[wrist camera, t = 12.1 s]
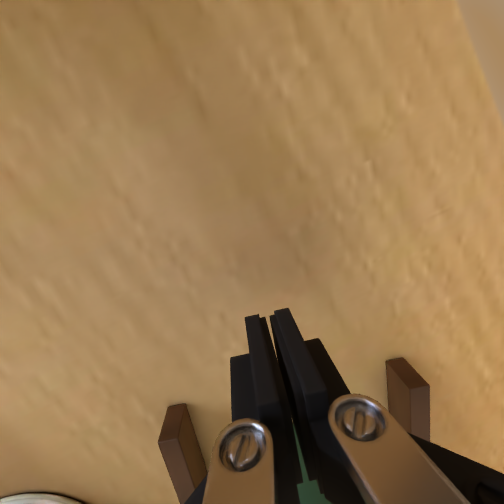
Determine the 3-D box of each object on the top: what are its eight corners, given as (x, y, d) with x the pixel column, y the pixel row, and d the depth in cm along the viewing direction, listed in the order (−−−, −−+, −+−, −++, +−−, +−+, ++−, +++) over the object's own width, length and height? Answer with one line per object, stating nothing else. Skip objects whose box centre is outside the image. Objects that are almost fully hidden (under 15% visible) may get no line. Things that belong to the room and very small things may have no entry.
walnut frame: (167, 406, 17) (157, 442, 15) (403, 357, 18) (430, 384, 15) (214, 543, 21) (212, 590, 19) (408, 501, 21) (431, 542, 19)
